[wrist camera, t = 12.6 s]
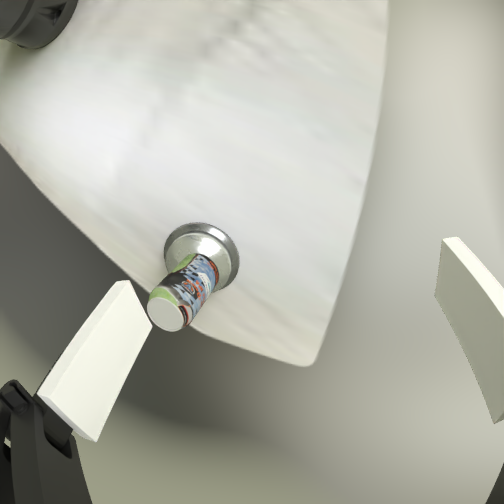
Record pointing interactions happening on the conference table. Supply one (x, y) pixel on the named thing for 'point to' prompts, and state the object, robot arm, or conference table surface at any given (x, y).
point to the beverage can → (183, 292)
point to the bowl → (203, 249)
